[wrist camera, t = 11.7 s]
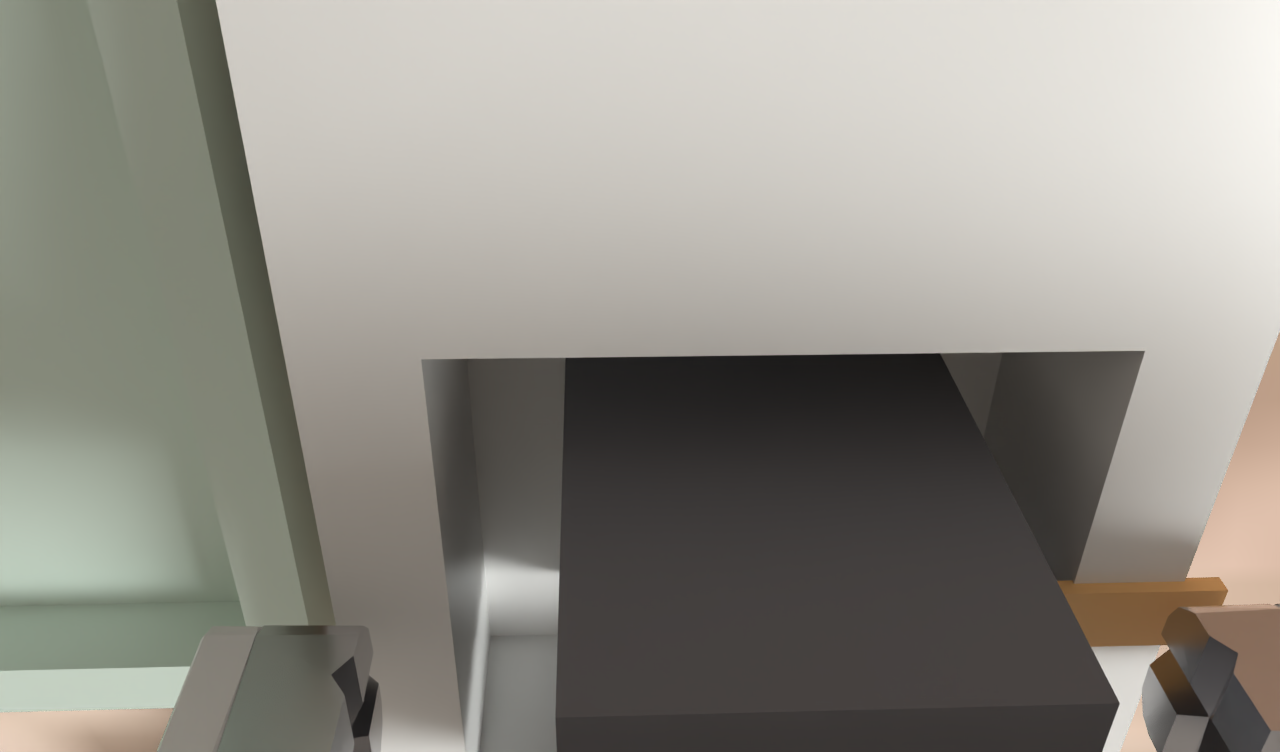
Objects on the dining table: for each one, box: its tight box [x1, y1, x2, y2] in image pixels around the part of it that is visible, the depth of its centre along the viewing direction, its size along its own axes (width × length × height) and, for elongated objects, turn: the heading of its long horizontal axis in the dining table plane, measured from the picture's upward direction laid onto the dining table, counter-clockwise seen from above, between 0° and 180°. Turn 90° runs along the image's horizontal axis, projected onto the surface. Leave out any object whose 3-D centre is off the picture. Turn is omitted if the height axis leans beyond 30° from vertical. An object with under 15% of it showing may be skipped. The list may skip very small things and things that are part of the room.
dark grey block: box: [555, 353, 1120, 752], centre depth 12 cm, size 4×4×6 cm
